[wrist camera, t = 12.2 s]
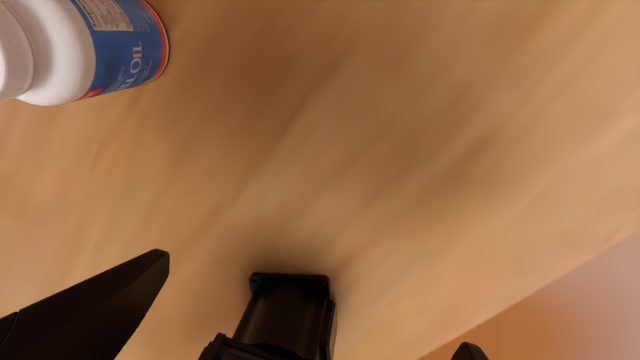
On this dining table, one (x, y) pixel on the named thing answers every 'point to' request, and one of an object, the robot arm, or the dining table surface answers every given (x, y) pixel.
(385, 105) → the dining table surface
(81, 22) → the pill bottle
